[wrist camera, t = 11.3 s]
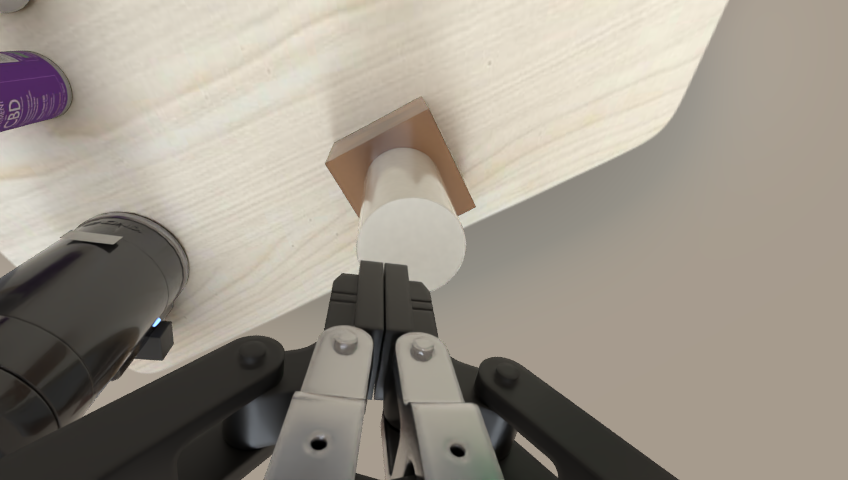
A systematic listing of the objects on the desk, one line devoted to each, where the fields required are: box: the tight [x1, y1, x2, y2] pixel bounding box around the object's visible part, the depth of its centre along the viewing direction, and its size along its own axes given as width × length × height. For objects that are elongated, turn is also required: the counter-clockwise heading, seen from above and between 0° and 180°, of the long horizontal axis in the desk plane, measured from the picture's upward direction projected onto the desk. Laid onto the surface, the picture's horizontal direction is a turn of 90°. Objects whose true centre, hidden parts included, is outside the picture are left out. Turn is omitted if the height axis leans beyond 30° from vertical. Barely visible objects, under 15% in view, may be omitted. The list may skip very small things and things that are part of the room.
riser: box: [325, 97, 476, 219], centre depth 34 cm, size 8×8×6 cm
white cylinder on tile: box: [356, 148, 466, 292], centre depth 27 cm, size 6×6×10 cm
